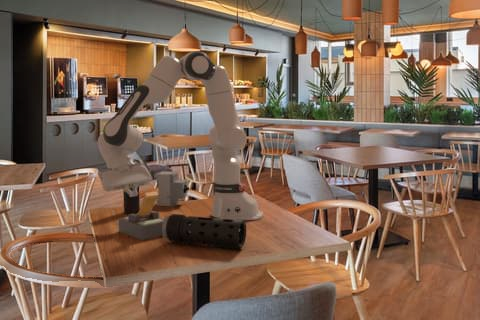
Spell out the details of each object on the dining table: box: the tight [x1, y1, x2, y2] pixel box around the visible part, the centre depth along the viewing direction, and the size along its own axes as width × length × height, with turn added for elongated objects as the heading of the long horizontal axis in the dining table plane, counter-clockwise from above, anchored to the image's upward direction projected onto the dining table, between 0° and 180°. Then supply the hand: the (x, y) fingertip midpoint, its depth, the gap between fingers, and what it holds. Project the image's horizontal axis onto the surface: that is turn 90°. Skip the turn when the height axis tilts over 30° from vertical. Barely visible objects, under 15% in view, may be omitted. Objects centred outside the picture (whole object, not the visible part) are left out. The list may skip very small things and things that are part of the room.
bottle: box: [122, 186, 141, 215], centre depth 225 cm, size 7×7×20 cm
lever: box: [136, 190, 159, 219], centre depth 190 cm, size 2×5×12 cm
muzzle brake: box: [162, 213, 247, 250], centre depth 177 cm, size 10×28×10 cm, turn 72°
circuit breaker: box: [155, 171, 190, 207], centre depth 241 cm, size 8×14×15 cm, turn 78°
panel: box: [118, 210, 165, 241], centre depth 193 cm, size 16×12×8 cm
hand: (134, 195), depth 197 cm, fingers closed
